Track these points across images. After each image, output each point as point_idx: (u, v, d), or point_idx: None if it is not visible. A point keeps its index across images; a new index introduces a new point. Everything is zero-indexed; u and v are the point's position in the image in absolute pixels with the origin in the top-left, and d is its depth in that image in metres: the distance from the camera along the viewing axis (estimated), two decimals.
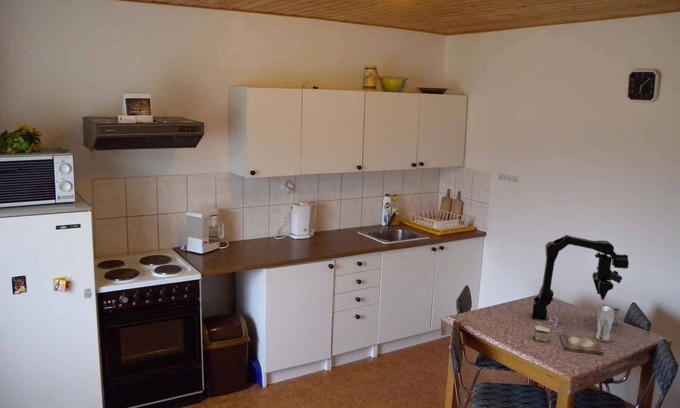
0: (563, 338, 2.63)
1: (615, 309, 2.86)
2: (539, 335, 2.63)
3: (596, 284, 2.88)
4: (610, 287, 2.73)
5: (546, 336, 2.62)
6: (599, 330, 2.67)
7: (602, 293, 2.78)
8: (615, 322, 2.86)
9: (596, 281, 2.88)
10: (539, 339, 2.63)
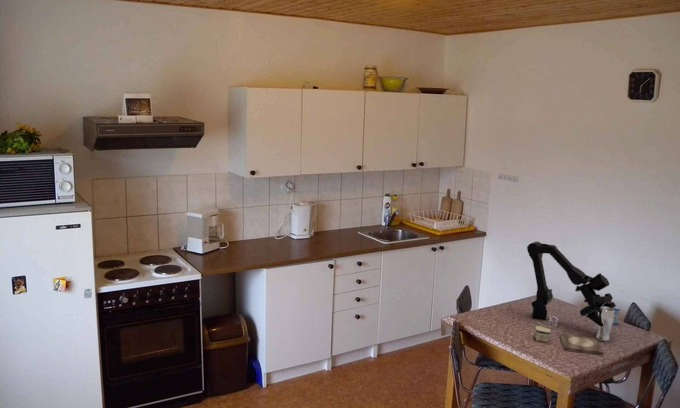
0: (563, 338, 2.63)
1: (615, 309, 2.86)
2: (540, 335, 2.62)
3: None
4: (587, 311, 2.64)
5: (547, 336, 2.61)
6: (599, 330, 2.67)
7: (595, 320, 2.66)
8: (615, 322, 2.86)
9: None
10: (540, 339, 2.63)
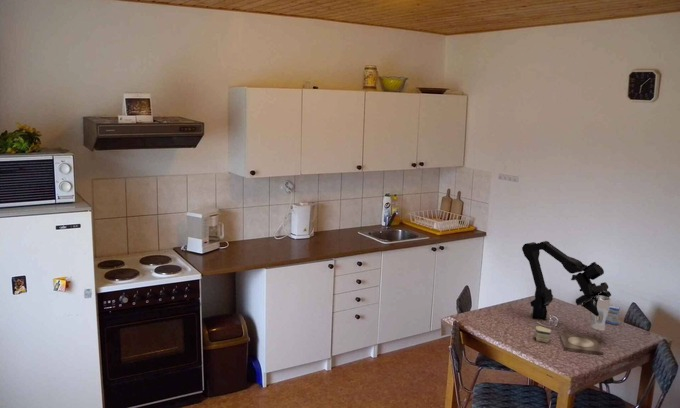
0: (563, 338, 2.63)
1: (615, 309, 2.86)
2: (540, 336, 2.62)
3: None
4: (583, 300, 2.61)
5: (547, 337, 2.61)
6: (594, 319, 2.63)
7: (591, 309, 2.63)
8: (615, 322, 2.86)
9: None
10: (540, 340, 2.62)
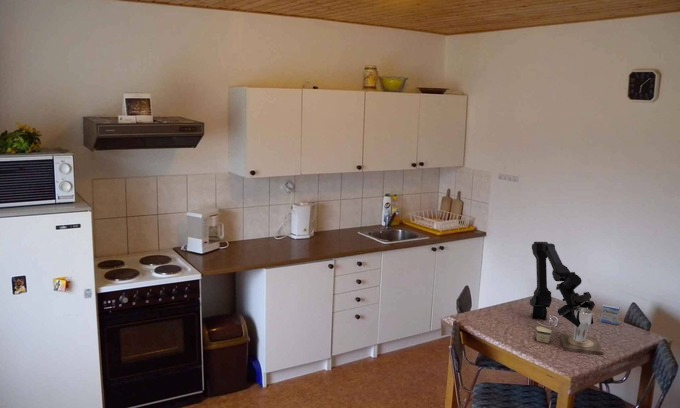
0: (563, 338, 2.63)
1: (615, 309, 2.86)
2: (540, 336, 2.62)
3: None
4: (564, 310, 2.55)
5: (547, 337, 2.60)
6: (576, 332, 2.58)
7: (571, 320, 2.56)
8: (615, 322, 2.86)
9: None
10: (540, 340, 2.62)
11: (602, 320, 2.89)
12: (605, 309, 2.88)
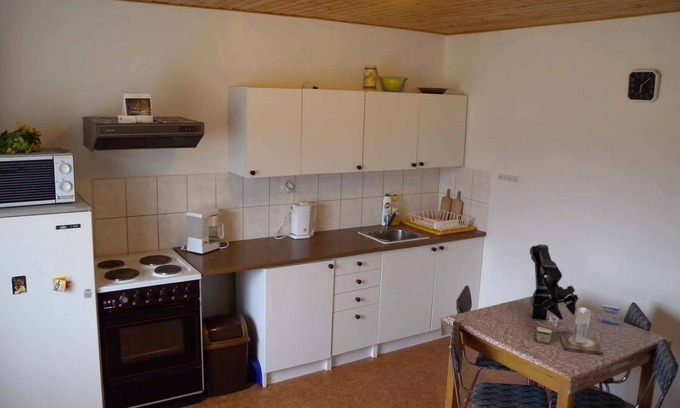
0: (563, 338, 2.63)
1: (615, 309, 2.86)
2: (541, 336, 2.61)
3: (569, 308, 2.70)
4: (548, 303, 2.63)
5: (548, 337, 2.60)
6: (575, 332, 2.58)
7: (555, 313, 2.64)
8: (615, 322, 2.86)
9: (567, 305, 2.71)
10: (541, 340, 2.62)
11: (602, 320, 2.89)
12: (605, 309, 2.88)
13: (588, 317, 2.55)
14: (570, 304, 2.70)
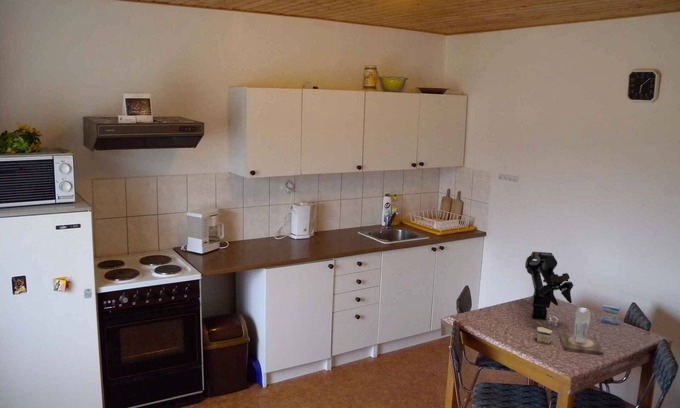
0: (563, 338, 2.63)
1: (615, 309, 2.86)
2: (541, 336, 2.61)
3: (564, 295, 2.79)
4: (544, 289, 2.72)
5: (548, 338, 2.60)
6: (575, 332, 2.58)
7: (551, 299, 2.73)
8: (615, 322, 2.86)
9: (563, 292, 2.80)
10: (541, 340, 2.61)
11: (602, 320, 2.89)
12: (605, 309, 2.88)
13: (588, 317, 2.55)
14: (565, 291, 2.79)
